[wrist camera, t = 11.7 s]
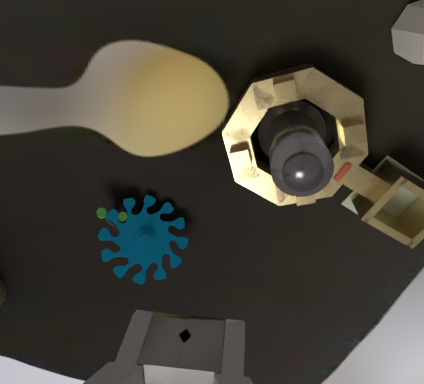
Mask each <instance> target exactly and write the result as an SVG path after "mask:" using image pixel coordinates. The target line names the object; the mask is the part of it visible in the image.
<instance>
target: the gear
mask: <svg viewBox="0 0 424 384" xmlns="http://www.w3.org/2000/svg"><path fill="white" fill-rule="evenodd" d="M155 200H156V199H155V198H154V197H152V196H149V195H146V196H145V198H144V206H143V209H142V211H141V212H140V213H139V214H138V215H133V214H132V213H131V209H132V208H133V207H134V205H135V199H133V198H128V199H124V202H123V205H124V207H125V208H126V210H127V213H125V212H120V213H119V212H118V211H117V210H115V209H111V210H108V211H107V212H106V210H105V209H104V208H99V209H98V210H97V216H98V217H99V218H101V219H103V218H105V219H106V221H107V222H108V223H109V224H111V225H112V226H113V227H115V228H116V229H117V230H119V232H120V234H119V236H118V237H112V236H111V235H110V232H109V230H108V229H106V228H102V229H101V231H100V233H99V236H98V238H99V239H100V240H110V241H113V242H115V243H116V244H118V245H119V246H120V251H119V252H118V253H113V252H112V251H110V250H108V249H104V250H102V260H103V261H109V260H110V259H112V258H114V257H126V258H128V260H129V263H128V265H126V266H117V267H115V268H114V270H113V271H114V273H115V274H116V276H117V277H118V278H122V277H123V276H124V275H125V272H126V271H127V270H128V269H129V268H130V267H131V266H133V265H135V264H141V265H142V271H141V272H140V273H137V274H135V275H134V277H133V281H134V282H136V283H138V284H144V282H145V273H146V270H147V268H148V266H149V265H150V264H151V263H152V262H155V263H156V264H157V265H158V268H157V270H156V271H155V273H154V279H155V280H162V279H165V278H166V273H165V271H164V270H163V267H162V256H163V255H164V254H168V255H169V256H170V265H171V267H173V268H175V267H177V266H179V265H180V264H181V263H182V259H181V258H180V257H178V256H176V255H175V254H174V253H173V252H172V251H171V249H170V247H169V242H170V241H171V240H174V241H175V242H176V243H177V246H178V247H179V248H180V249H185V248H186V246H187V244H188V239H187V238H185V237H182V238H180V237H176V236H174V235H172V234H171V233H169V231H168V227H169V226H174V227H175V228H177V229H183V228H184V227H185V222H184V218H178V219H176V220H174V221H171V222H166V221H162V220H161V219H160V215H161V214H163V213H164V214H170V213H171V212H172V211H173V210H174V209H173V207H172V205H171V204H170V203H169V202H166V203H164V205H163V206H162V208H161V210H160V211H158V212H157V213H154V214H151V215H150V214H148V213H147V211H146V209H147V208H148V207H150V206H152V205H154V203H155Z"/></svg>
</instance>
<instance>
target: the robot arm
mask: <svg viewBox="0 0 424 384" xmlns="http://www.w3.org/2000/svg"><path fill="white" fill-rule="evenodd" d="M244 342H245V322H244V321H241V320H230V319H226V322H225V319H222V318H210V317H199V316H184V315H176V314H168V313H160V312H150V311H142V310H136V311H135V313H134V314H133V316H132V319H131V321H130V324H129V326H128V329H127V332H126V334H125V337H124V339H123V342H122V345H121V347H120V350H119V352H118V355H117V358H116V360H115V362H108V363H107V364H106V365H105V366H103V367H102V368H101V369H100V370H99V371H97V372H96V373H95V374H94V375H93V376H91V377H90V378H89V379H88V380H87V381H85V382H84V383H83V384H253V382H252V381H251V379H250V378H249V377H244Z"/></svg>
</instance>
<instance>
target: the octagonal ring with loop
mask: <svg viewBox="0 0 424 384" xmlns="http://www.w3.org/2000/svg"><path fill="white" fill-rule="evenodd" d="M302 99H307V100H309V101H310V102H312V103H313V104H315V105H317V106H318V107H320V108H322V109H323V110H325V111H326V112H328V113H330V114H331V118H332V125H333V133H334V140H335V141H334V142H333V144H332V145H331V146H330V147H329V149H328V150H329V152H330V154H331V156H332V158H333V162H334V172H333V176H332V178H331V180H330V182H329V183H328V184H327V186H325V187H324V188H323V189H322V190H321V191H319V192H317V193H315V194H313V195H310V196H306V197H295V196H290V195H288V194H285V193H284V192H282V191H281V190H279V189H278V188H277V186H276V185H275V184H274V182H273V180H272V176H271V169H270V165H268V164H267V163H265V162H263V161H261V160H260V159H258V158H257V156H256V152H255V148H254V144H253V140H252V135H251V134H252V133H253V131H254V130H255V128H256V127H257V125H258V124H259V122H260V120H261V119H262V117H263V116H264V114H265V113H266V111H267V110H268V108H269V107H273V106H278V105H282V104H286V103H290V102H294V101H298V100H302ZM222 136H223V139H224V143H225V146H226V150H227V153H228V157H229V161H230V164H231V168H232V171H233V175H234V178H235V182H237V183H239V184H240V185H242V186H244V187H246V188H248V189H249V190H251V191H253V192H255V193H257V194H259V195H260V196H262V197H264V198H266V199H268V200H269V201H271V202H273V203H275V204H277V205H278V206H282V205H288V204H293V203H297V206H299V205H305V204H310V203H315V199H320V198H325V197H331V196H333V195H334V193H335V192H336V191H337V190H338V189H339V188H340V187H341V185H342V184H343V185H345V186H347V187H349V188H350V189H352V190H354V191H355V192H356V193H355V194H354V195H353V197H352V198H351V201H352V203H353V205H354V207H355V209H356V211H357V213H358V215H359V217H360V219H361V220H363V221H364V222H366V223H368V224H370V225H371V226H373V227H375V228H377V229H379V230H380V231H382V232H384V233H386V234H387V235H389V236H391V237H393V238H394V239H396V240H398V241H400V242H401V243H403V244H405V245H407V246H408V247H410V248H412V249H413V248H414V247H415V246H416V245H417V244H418V243H419V242H420V241H422V240H423V239H424V181H423V180H421V179H419V178H418V177H416V176H414V175H413V174H411V173H409V172H408V171H406V170H405V169H403V168H401V167H400V166H398V165H396V164H395V163H393V162H391V161H390V160H388V159H386V160H385V161H384V162H383V163H382V164H381V165H380V166H379V168H378V169H377V170H376V171H375V170H373V169H372V168H370V167H368V166H367V165H365V164H363V163H362V161H363V160H364V159H365V158H366V156H367V155H368V145H367V134H366V123H365V112H364V101H363V98H362V97H360V96H359V95H358V94H357V93H356V92H354V91H353V90H351V89H350V88H348V87H346V86H345V85H343V84H342V83H340V82H339V81H337V80H335V79H334V78H332V77H331V76H329V75H328V74H326V73H324V72H323V71H321V70H320V69H318V68H317V67H315V66H313V65H312V64H310V63H306V64H303V65H299V66H295V67H291V68H288V69H284V70H280V71H277V72H273V73H269V74H265V75H262V76H258V77H254V78H252V79H251V80H250V82H249V84H248V85H247V87H246V89H245V90H244V92H243V94H242V95H241V97H240V99H239V100H238V102H237V104H236V105H235V107H234V109H233V110H232V112H231V114H230V115H229V117H228V119H227V120H226V122H225V124H224V126H223V130H222ZM401 187H403V188H405V189H406V190H408V191H410V192H411V193H413V194H415V195H416V196H418V198H417V199H416V200H415V201H414V202H413V203H412V204H411V205H410V206H409V207H408V208H407V209H406V210H405V211H404V212H403V213H402V214H401V215H400V216H399V217H398V218H397V217H395V216H394V215H392V214H390V213H389V212H387V211H385V210H383V209H382V207H383V206H384V205H385V204H386V203H387V202H388V201H389V200H390V199H391V198H392V197H393V196H394V195H395V194H396V193H397V192H398V190H399V189H400V188H401Z"/></svg>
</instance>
